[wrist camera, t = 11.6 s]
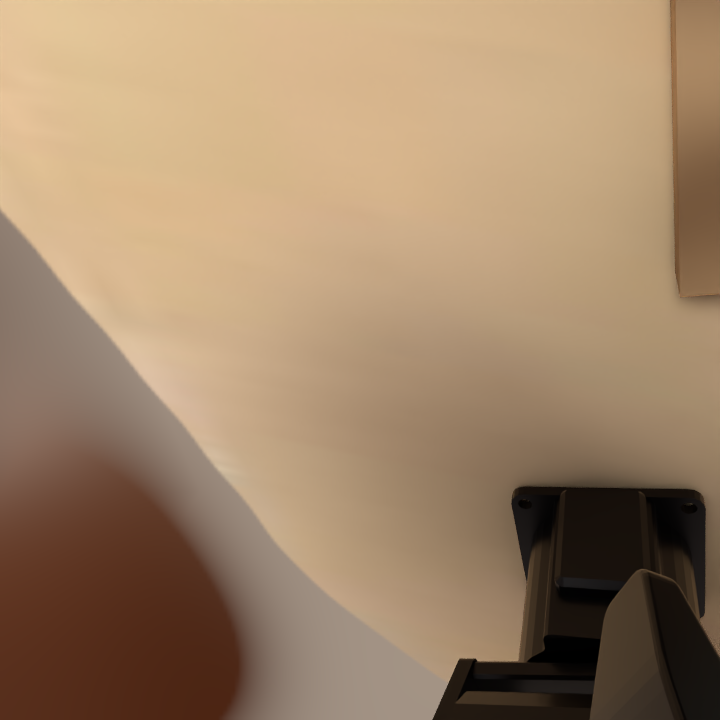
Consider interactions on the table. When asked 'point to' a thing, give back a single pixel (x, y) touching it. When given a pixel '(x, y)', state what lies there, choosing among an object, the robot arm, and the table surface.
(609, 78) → the table surface
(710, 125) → the brown board with ring
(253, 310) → the table surface
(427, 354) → the table surface
